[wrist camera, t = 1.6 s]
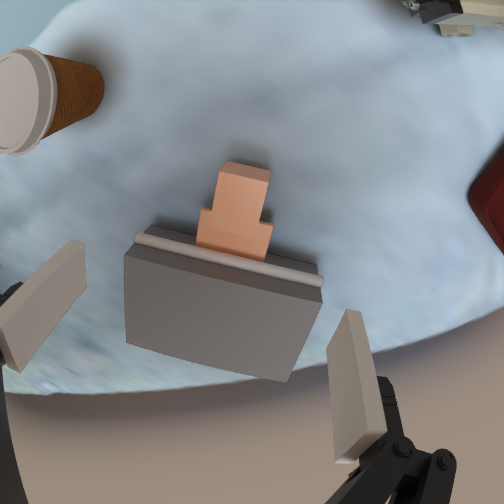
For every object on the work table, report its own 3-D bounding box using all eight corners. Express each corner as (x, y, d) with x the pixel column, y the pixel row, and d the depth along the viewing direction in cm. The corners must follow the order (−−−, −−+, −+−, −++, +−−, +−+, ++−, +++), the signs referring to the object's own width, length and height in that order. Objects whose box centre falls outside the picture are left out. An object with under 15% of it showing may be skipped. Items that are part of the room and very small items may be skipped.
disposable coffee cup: (131, 101, 28) (60, 114, 18) (70, 148, 31) (-2, 179, 21) (96, 33, 25) (20, 23, 14) (39, 84, 27) (-36, 97, 17)
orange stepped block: (246, 321, 37) (242, 345, 33) (187, 306, 37) (178, 329, 33) (286, 174, 29) (287, 187, 25) (211, 157, 28) (200, 167, 25)
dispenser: (287, 341, 41) (286, 382, 35) (146, 306, 41) (126, 342, 34) (319, 257, 35) (326, 294, 29) (151, 217, 34) (124, 245, 28)
